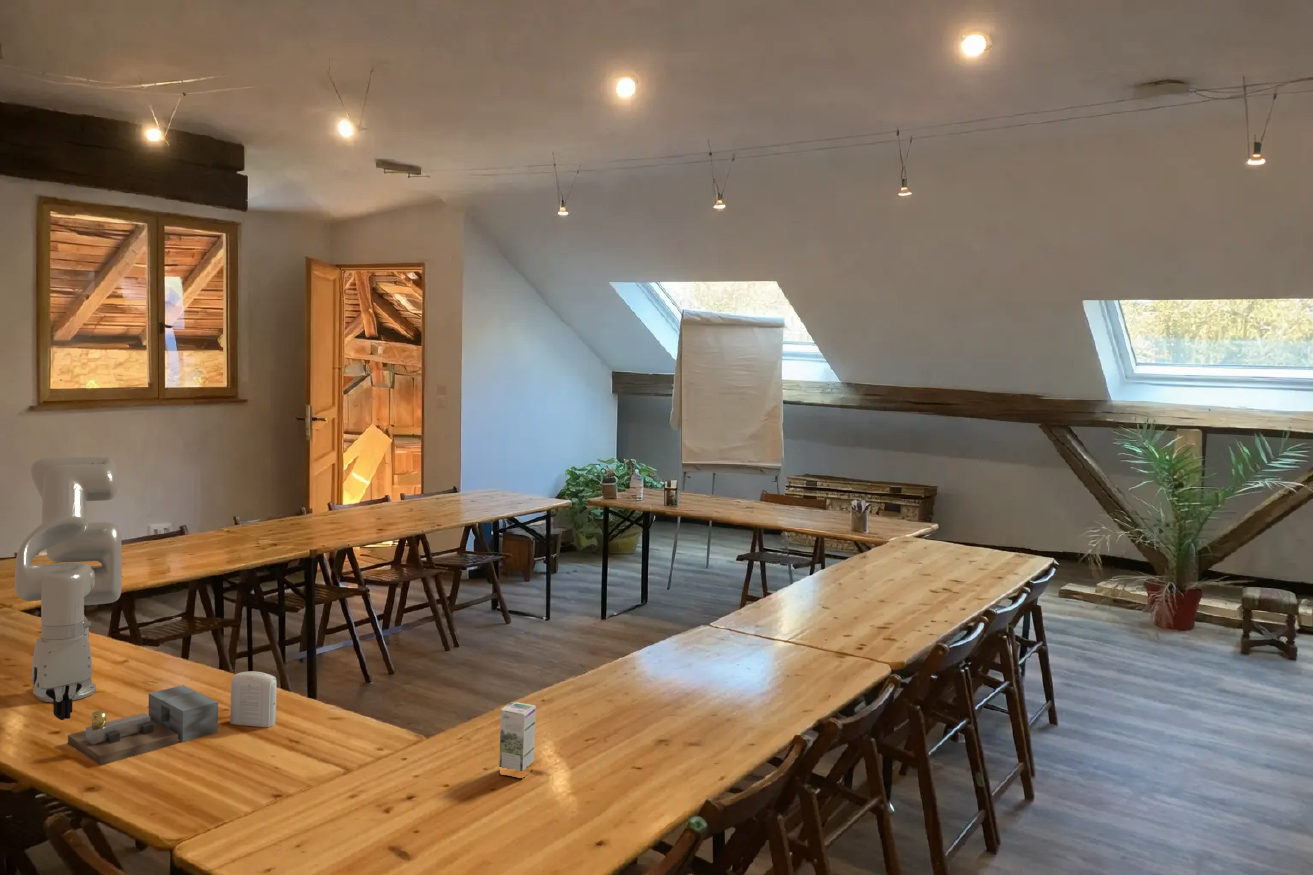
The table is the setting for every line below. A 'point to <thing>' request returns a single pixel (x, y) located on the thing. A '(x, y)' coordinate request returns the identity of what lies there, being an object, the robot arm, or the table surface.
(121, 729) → the bolt
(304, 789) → the table surface
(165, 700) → the frame
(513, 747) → the syrup box
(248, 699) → the photo printer
